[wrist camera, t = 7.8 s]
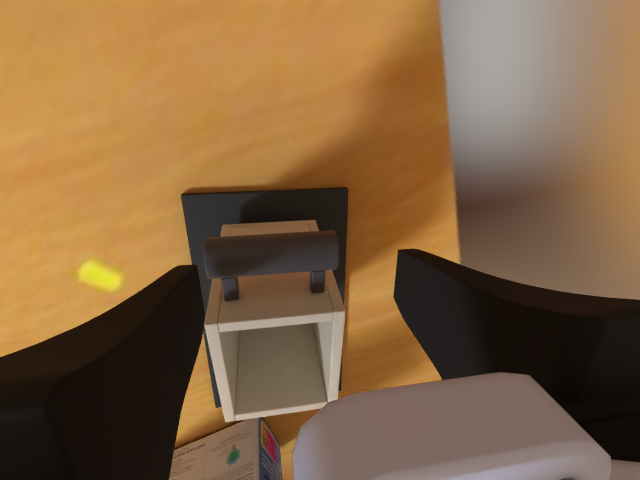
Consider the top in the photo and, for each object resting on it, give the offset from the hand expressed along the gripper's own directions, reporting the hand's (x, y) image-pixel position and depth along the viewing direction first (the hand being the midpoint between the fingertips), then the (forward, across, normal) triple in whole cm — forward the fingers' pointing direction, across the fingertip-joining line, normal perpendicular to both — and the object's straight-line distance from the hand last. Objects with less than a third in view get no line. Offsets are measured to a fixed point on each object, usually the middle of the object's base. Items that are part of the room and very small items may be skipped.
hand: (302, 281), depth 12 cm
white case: (+5, +1, +8) cm, 9 cm away
